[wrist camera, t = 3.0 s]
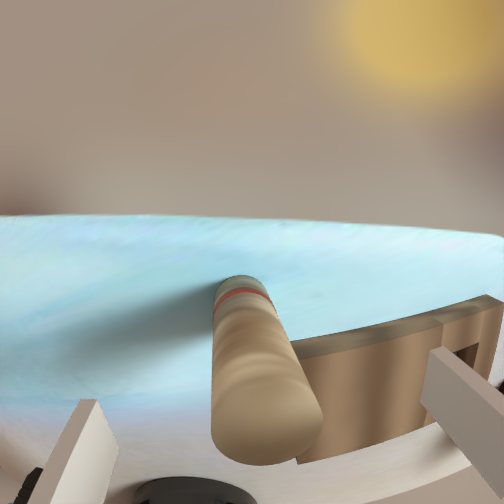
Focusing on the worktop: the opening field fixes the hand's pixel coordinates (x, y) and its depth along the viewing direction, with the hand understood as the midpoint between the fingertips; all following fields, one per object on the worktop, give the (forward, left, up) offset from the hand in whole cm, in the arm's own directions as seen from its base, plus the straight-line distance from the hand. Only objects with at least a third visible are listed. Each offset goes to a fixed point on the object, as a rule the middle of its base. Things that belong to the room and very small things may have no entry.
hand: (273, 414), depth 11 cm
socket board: (+14, -10, -13) cm, 22 cm away
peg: (0, 0, -13) cm, 13 cm away
